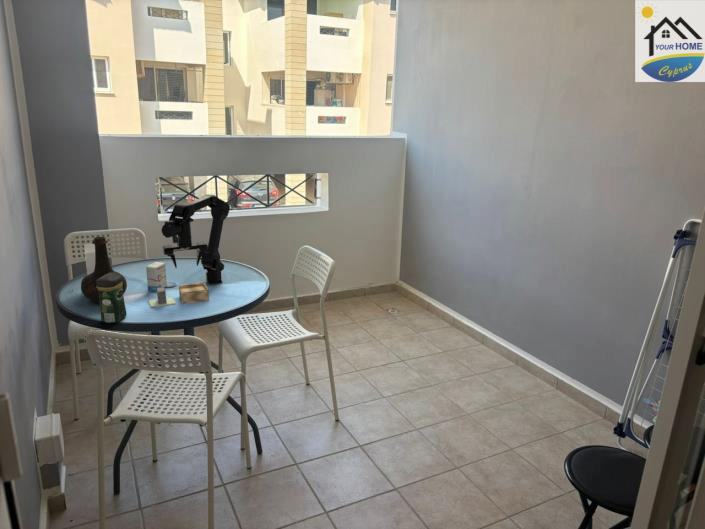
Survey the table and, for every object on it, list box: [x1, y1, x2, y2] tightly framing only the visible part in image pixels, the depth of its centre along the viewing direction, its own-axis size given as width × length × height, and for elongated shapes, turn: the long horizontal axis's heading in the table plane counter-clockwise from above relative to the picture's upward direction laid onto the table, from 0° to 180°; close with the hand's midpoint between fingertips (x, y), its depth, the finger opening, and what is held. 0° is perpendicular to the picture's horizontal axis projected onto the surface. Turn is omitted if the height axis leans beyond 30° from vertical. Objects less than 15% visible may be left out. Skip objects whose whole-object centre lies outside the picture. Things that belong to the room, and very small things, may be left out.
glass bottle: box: [80, 236, 128, 304], centre depth 220 cm, size 18×18×28 cm
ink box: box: [145, 261, 168, 293], centre depth 237 cm, size 9×5×12 cm, turn 168°
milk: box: [83, 243, 95, 276], centre depth 231 cm, size 6×6×22 cm
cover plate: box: [148, 287, 177, 309], centre depth 221 cm, size 10×8×6 cm
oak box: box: [178, 282, 210, 305], centre depth 227 cm, size 11×10×5 cm
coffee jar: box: [96, 272, 128, 324], centre depth 202 cm, size 10×8×19 cm
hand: (186, 266), depth 231 cm, fingers open, 9 cm apart
